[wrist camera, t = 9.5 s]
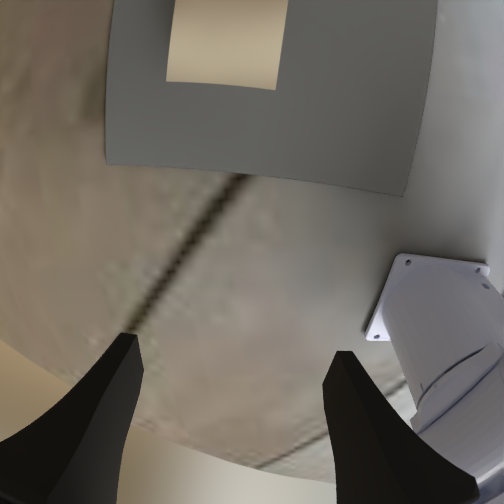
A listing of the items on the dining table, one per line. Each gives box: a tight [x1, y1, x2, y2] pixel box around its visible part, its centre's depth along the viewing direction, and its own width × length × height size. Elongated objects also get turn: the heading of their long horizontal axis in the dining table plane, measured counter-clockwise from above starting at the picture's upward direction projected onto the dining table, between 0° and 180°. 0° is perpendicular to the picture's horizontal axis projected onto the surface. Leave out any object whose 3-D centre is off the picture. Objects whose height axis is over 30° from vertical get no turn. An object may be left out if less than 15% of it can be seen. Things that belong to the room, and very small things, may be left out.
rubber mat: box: [105, 0, 437, 197], centre depth 14 cm, size 18×16×1 cm
